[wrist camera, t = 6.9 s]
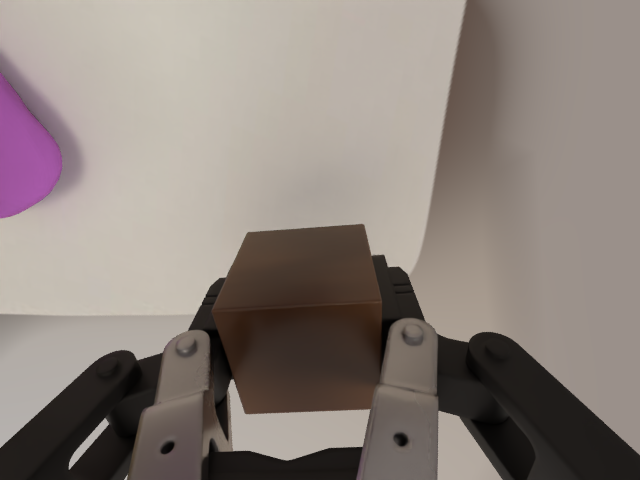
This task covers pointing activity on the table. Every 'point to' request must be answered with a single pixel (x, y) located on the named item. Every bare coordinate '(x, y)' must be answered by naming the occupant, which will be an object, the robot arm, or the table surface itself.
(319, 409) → the block
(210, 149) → the table surface
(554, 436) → the robot arm
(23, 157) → the blob
